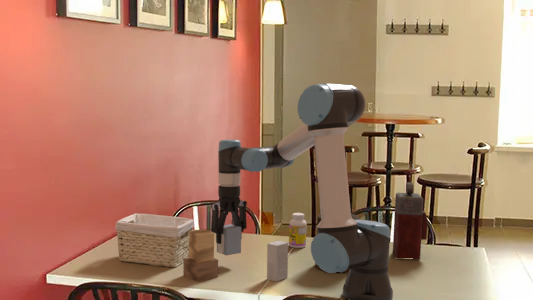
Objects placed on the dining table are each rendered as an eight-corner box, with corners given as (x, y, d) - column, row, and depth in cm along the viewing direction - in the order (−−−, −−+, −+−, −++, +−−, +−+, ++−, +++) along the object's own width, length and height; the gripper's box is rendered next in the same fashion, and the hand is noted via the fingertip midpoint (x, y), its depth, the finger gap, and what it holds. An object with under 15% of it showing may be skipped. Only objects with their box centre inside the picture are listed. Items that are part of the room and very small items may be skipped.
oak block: (213, 260, 219) (214, 233, 218) (197, 262, 216) (197, 235, 215) (204, 255, 224) (205, 229, 223) (188, 257, 221) (189, 231, 220)
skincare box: (277, 275, 224) (278, 240, 223) (287, 278, 222) (288, 242, 220) (266, 279, 220) (267, 243, 218) (276, 282, 217) (277, 245, 216)
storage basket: (195, 257, 243) (196, 217, 241) (177, 270, 227) (178, 227, 226) (134, 251, 249) (135, 212, 248) (113, 263, 234) (113, 221, 232)
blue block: (241, 252, 233) (241, 227, 232) (226, 255, 229) (226, 229, 228) (230, 249, 237) (231, 224, 236) (216, 251, 234) (216, 226, 233)
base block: (217, 277, 221) (218, 259, 220) (198, 282, 215) (198, 263, 215) (202, 271, 227) (203, 254, 226) (183, 276, 221) (183, 258, 220)
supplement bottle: (285, 244, 265) (286, 212, 263) (300, 243, 267) (301, 211, 266) (293, 249, 258) (294, 216, 257) (308, 247, 261) (310, 215, 260)
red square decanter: (426, 260, 248) (430, 185, 245) (395, 259, 248) (399, 184, 245) (422, 253, 257) (426, 181, 253) (392, 252, 257) (396, 180, 254)
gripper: (245, 181, 240) (244, 245, 242) (199, 185, 228) (199, 252, 230) (258, 183, 234) (257, 249, 236) (212, 188, 222) (211, 257, 224)
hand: (228, 251), depth 233 cm, fingers closed on blue block, 6 cm apart
